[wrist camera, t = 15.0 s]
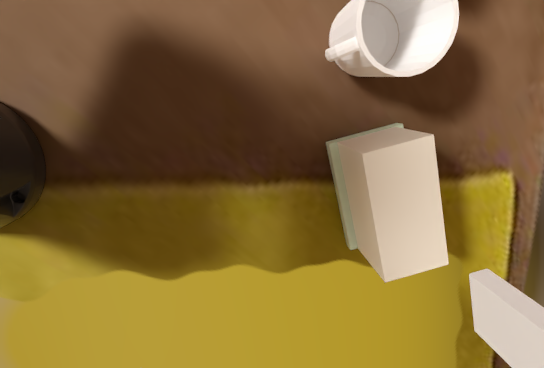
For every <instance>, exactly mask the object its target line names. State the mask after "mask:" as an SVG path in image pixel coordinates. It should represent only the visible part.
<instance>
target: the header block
mask: <svg viewBox="0 0 544 368" xmlns="http://www.w3.org/2000/svg"><path fill="white" fill-rule="evenodd" d="M392 127H399V128H404V127H403V124H401V123H394V124H391V125H387V126H383V127H379V128H376V129H372V130H368V131H365V132H361V133H357V134H353V135H350V136H346V137H342V138H338V139H335V140H331V141H327V142H326V147H327V152H328V157H329V162H330V166H331V171H332V176H333V181H334V186H335V191H336V195H337V200H338V205H339V210H340V215H341V220H342V225H343V229H344V234H345V239H346V244H347V246H348V248H349V249H350V250H353V249H357V248H358V246H357V241H356V236H355V231H354V225H353V220H352V215H351V210H350V205H349V200H348V195H347V190H346V185H345V180H344V175H343V170H342V165H341V160H340V155H339V149H338V144H337V142H339V141H343V140H347V139H351V138H354V137H358V136H362V135H365V134H369V133H373V132H377V131H380V130H384V129H388V128H392Z"/></svg>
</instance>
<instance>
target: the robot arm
mask: <svg viewBox="0 0 544 368" xmlns="http://www.w3.org/2000/svg"><path fill="white" fill-rule="evenodd" d="M45 176H46V167H45V160H44V155H43V152H42V149H41V146H40V144H39V142H38V140H37V138H36V136H35V135H34V133H33V132H32V130H31V129H30V128H29V126H28V125H27V124H26V123H25V122H24V121H23V120H22V119H21V118H20V117H19V116H18V115H17V114H16V113H15V112H14V111H12V110H11V109H10V108H8V107H7V106H5V105H4V104H2V103H0V228H2V227H4V226H6V225H8V224H9V223H11V222H13V221H15V220H16V219H18V218H20V217H21V216H23V215H24V214H26V213H27V212H28V211H29V210H30V209H31V208H32V207H33V206H34V205H35V203H36V202H37V200H38V199H39V197H40V195H41V193H42V190H43V187H44V183H45ZM469 279H470V289H471V300H472V310H473V320H474V331H475V332H476V333H477V334H478V335H479V336H480V337H481V338H482V339H483V340H484V341H485V342H486V343H487V344H488V345H489V346H490V347H491V348H492V349H493V350H494V351H495V352H496V353H497V354H498V355H500V356H501V357H502V358H503V359H504V360H505V361H506V362H507V363H508V364H509V365H510V366H511V367H512V368H544V307H542V306H541V305H539V304H538V303H536V302H535V301H534V300H532V299H531V298H529V297H528V296H526V295H525V294H523V293H522V292H521V291H519V290H518V289H516V288H515V287H513V286H512V285H510V284H509V283H508V282H506V281H505V280H503V279H502V278H500V277H499V276H497V275H496V274H495V273H493V272H492V271H490V270H489V269H484V270H480V271H477V272H474V273H470V274H469Z"/></svg>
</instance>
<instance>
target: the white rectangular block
mask: <svg viewBox="0 0 544 368" xmlns="http://www.w3.org/2000/svg"><path fill="white" fill-rule="evenodd" d="M337 144H338V149H339V155H340V160H341V165H342V170H343V175H344V180H345V185H346V190H347V195H348V200H349V205H350V210H351V215H352V220H353V225H354V231H355V236H356V241H357V246H358V249H359V251H360V252H361V253H362V254H363V256H364V257H365V258H366V259H367V261H368V262H369V263H370V264H371V266H372V267H373V268H374V269H375V271H376V272H377V273H378V274H379V276H380V277H381V278H382V279H383V281H384V282H389V281H392V280H396V279H400V278H403V277H406V276H410V275H414V274H417V273H420V272H424V271H427V270H431V269H434V268H438V267H441V266H445V265H448V264H449V263H448V254H447V245H446V237H445V228H444V219H443V211H442V202H441V193H440V185H439V176H438V167H437V159H436V150H435V142H434V135H433V134H429V133H424V132H419V131H414V130H409V129H404V128H399V127H392V128H388V129H384V130H380V131H377V132H373V133H369V134H365V135H362V136H358V137H354V138H351V139H347V140H343V141H339V142H337Z"/></svg>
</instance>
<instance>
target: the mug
mask: <svg viewBox="0 0 544 368" xmlns="http://www.w3.org/2000/svg"><path fill="white" fill-rule="evenodd" d="M458 20H459V7H458V0H351V1H350V2H349V3H348V4H347V5H346V6H345V7H344V8H343V9H342V10H341V11H340V12H339V13H338V14H337V16H336V17H335V19H334V21H333V23H332V26H331V29H330V33H329V47H330V48H329V49H327V50H326V51H325V57H326V59H327V60H328V61H330V62H332V61H335V63H336V64H337V65H338V66H339V67H340V68H341V70H343V71H345V72H346V73H348V74H350V75H353V76H357V77H410V76H413V75H417V74H420V73H423V72H425V71H426V70H428V69H430V68H431V67H433V66H435V65H436V64H437V63H438V62H439V61H440V60H441V59H442V58H443V57H444V56H445V54H446V52H447V51H448V49H449V48H450V46H451V44H452V43H453V40H454V37H455V34H456V31H457V28H458Z"/></svg>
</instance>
